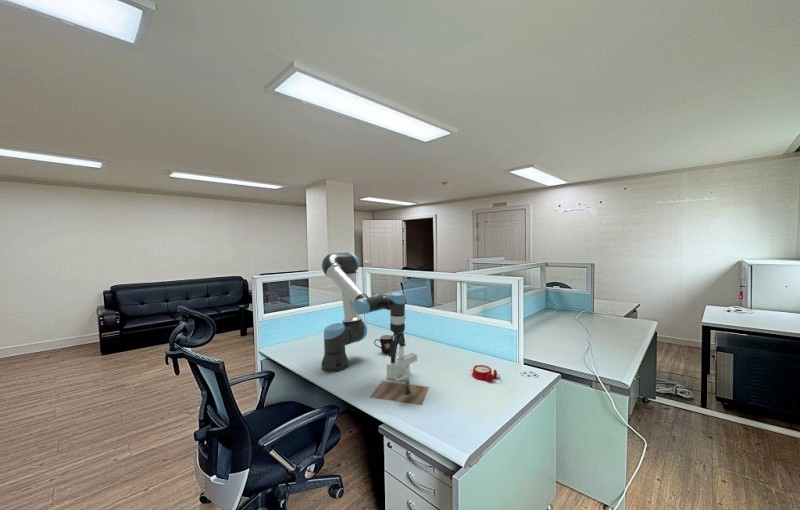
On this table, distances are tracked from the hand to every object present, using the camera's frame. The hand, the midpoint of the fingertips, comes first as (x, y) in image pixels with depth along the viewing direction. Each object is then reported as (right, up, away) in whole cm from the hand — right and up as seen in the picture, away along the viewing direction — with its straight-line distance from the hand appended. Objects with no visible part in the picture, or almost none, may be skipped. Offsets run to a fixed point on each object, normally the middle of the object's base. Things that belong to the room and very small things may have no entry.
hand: (397, 363), depth 157 cm
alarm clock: (+45, -7, -1) cm, 46 cm away
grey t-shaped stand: (+4, -6, -19) cm, 21 cm away
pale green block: (+1, -8, 0) cm, 8 cm away
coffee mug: (-8, -6, +36) cm, 38 cm away
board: (+2, -8, -17) cm, 19 cm away
